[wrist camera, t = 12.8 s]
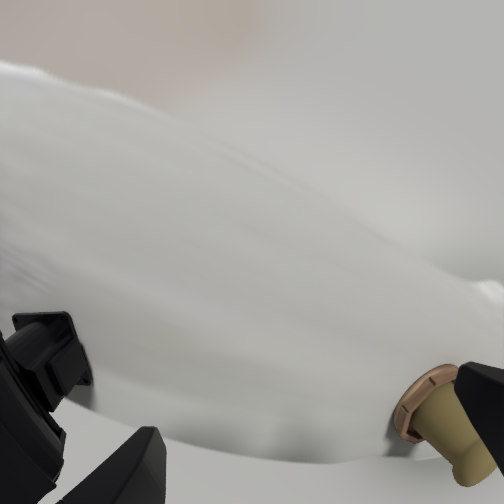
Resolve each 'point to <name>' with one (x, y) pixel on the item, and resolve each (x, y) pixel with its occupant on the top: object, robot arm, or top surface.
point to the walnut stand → (420, 399)
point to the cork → (453, 435)
